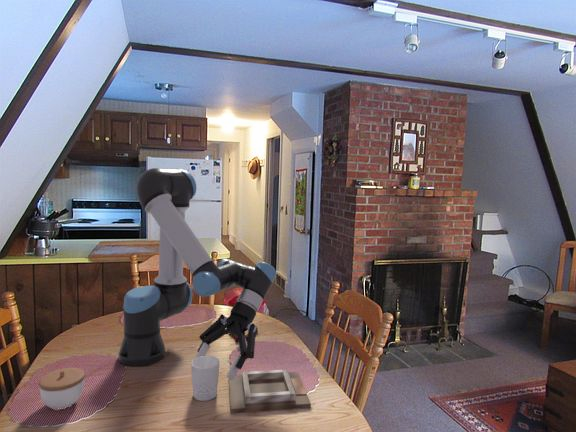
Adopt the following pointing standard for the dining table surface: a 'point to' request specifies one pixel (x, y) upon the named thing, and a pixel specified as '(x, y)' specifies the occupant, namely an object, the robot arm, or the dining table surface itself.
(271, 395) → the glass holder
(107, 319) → the dining table surface
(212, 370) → the white cup
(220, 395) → the dining table surface
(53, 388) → the lidded jar
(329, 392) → the dining table surface
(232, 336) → the pliers
